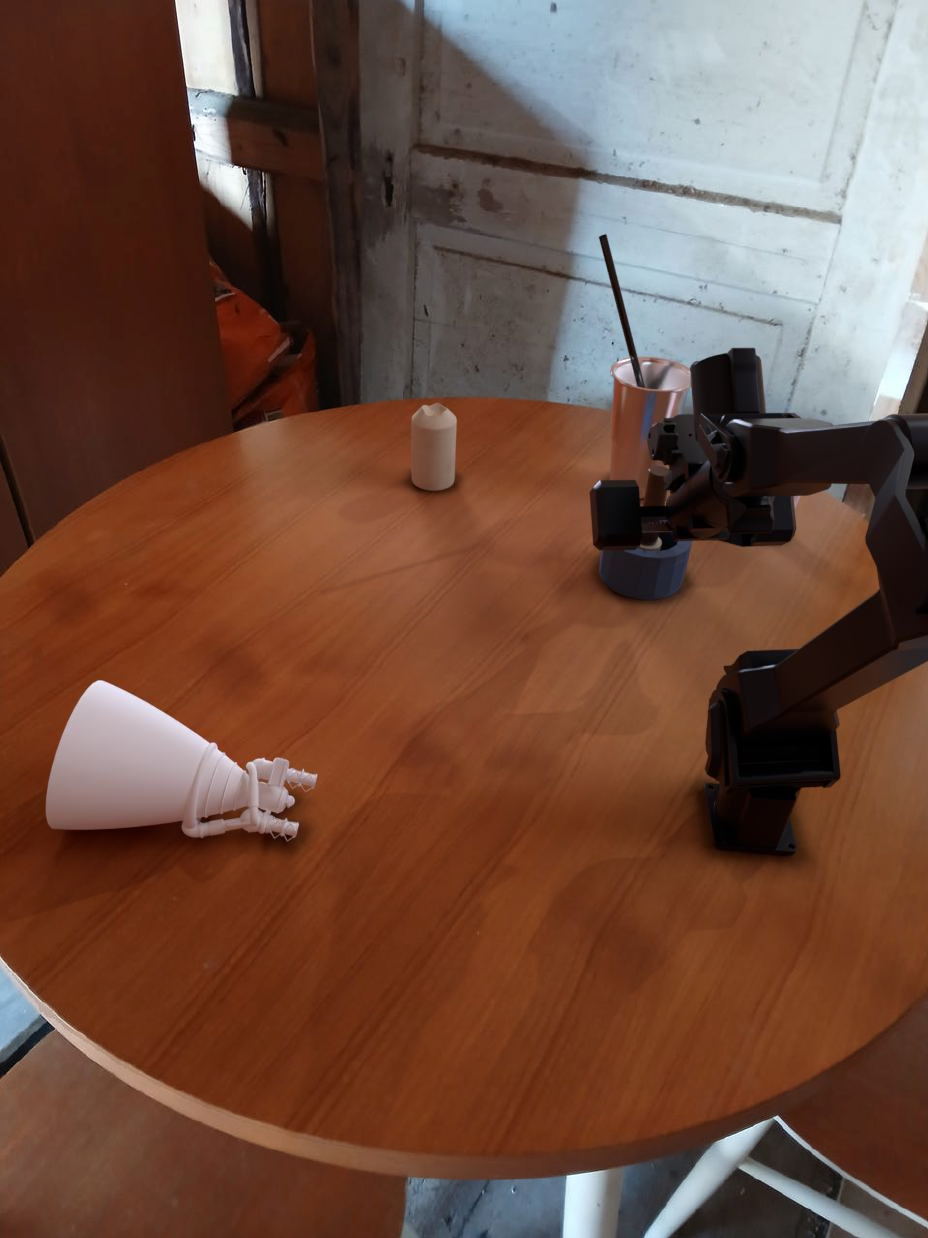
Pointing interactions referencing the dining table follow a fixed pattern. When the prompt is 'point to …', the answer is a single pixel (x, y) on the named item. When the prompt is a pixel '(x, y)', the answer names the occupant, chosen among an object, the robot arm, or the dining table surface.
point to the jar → (646, 569)
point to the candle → (433, 447)
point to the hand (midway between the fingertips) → (664, 533)
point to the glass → (639, 397)
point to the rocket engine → (157, 773)
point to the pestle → (654, 497)
